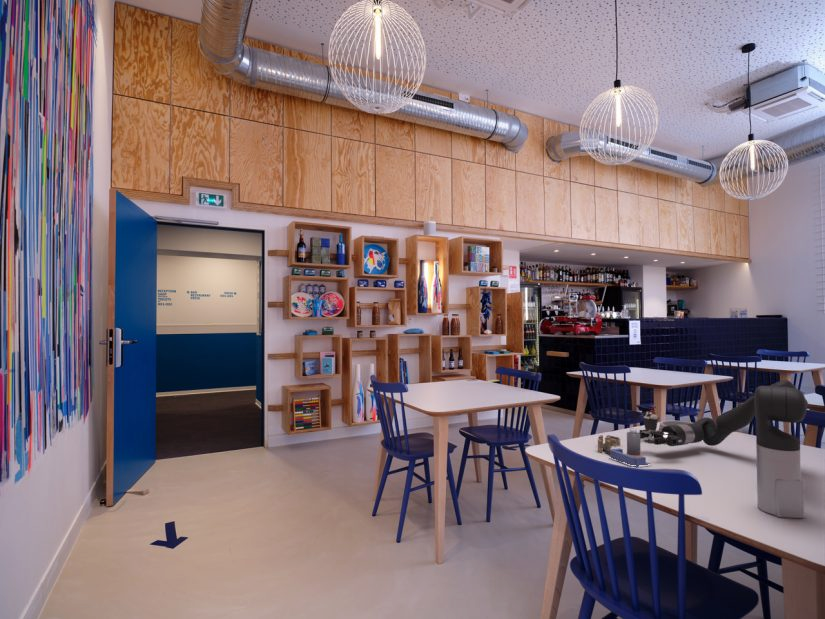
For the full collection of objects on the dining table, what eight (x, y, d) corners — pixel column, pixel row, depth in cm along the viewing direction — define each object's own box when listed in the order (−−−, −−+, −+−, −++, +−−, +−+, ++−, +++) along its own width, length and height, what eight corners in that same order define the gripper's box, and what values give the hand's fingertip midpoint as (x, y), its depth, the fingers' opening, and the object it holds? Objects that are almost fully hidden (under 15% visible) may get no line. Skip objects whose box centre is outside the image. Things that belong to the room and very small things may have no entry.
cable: (611, 454, 170) (611, 451, 170) (601, 453, 172) (601, 450, 172) (613, 444, 185) (613, 441, 185) (603, 443, 186) (603, 440, 186)
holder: (625, 456, 170) (625, 447, 170) (651, 465, 159) (651, 456, 159) (609, 458, 167) (609, 449, 167) (634, 468, 156) (634, 458, 156)
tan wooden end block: (609, 442, 188) (609, 434, 188) (620, 445, 185) (620, 436, 185) (605, 444, 186) (604, 436, 186) (615, 446, 182) (615, 438, 182)
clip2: (611, 447, 181) (610, 436, 181) (608, 449, 179) (608, 438, 179) (600, 446, 184) (600, 435, 184) (598, 447, 181) (598, 436, 181)
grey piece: (643, 462, 161) (643, 431, 161) (629, 461, 161) (628, 430, 162) (638, 457, 166) (637, 427, 166) (624, 457, 166) (623, 427, 167)
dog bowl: (666, 440, 192) (666, 428, 193) (653, 430, 210) (653, 418, 210) (711, 443, 189) (711, 430, 189) (694, 432, 207) (694, 420, 207)
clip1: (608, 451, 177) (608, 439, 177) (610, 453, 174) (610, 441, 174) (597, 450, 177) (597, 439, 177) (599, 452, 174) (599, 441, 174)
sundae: (662, 444, 186) (661, 407, 186) (644, 443, 187) (644, 407, 187) (657, 440, 192) (656, 404, 192) (640, 439, 194) (639, 404, 194)
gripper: (695, 449, 165) (661, 454, 159) (662, 440, 178) (629, 444, 173) (694, 429, 165) (661, 432, 160) (661, 421, 178) (629, 424, 173)
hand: (645, 438), depth 166 cm, fingers open, 8 cm apart
